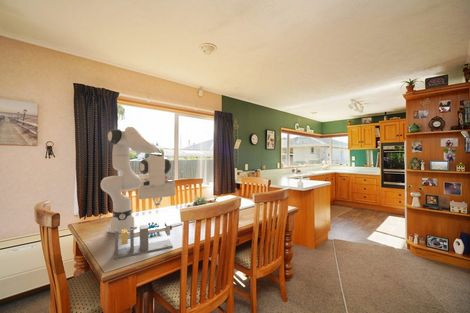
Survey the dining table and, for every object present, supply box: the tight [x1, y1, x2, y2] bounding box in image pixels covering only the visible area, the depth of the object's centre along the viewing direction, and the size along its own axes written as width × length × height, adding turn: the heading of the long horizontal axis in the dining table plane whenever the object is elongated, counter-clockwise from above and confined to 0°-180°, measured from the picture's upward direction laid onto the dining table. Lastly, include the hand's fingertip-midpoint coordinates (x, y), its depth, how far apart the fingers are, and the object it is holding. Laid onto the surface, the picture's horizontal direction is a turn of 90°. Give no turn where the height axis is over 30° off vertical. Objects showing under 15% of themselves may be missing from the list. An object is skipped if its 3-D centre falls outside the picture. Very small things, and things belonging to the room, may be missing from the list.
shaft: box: [118, 220, 173, 240], centre depth 121 cm, size 8×28×6 cm, turn 118°
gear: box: [147, 222, 160, 238], centre depth 143 cm, size 11×6×10 cm
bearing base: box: [113, 224, 174, 260], centre depth 121 cm, size 10×30×14 cm, turn 118°
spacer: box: [120, 228, 129, 246], centre depth 116 cm, size 6×3×6 cm, turn 28°
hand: (157, 205), depth 121 cm, fingers closed
